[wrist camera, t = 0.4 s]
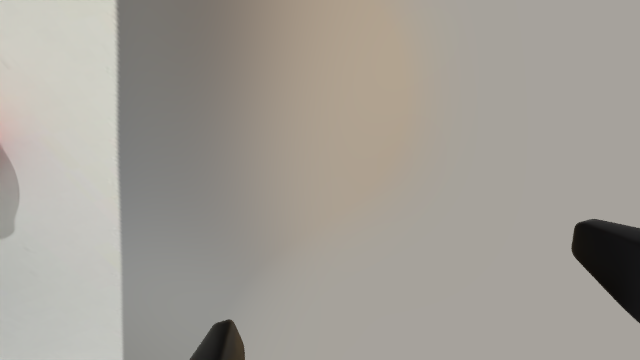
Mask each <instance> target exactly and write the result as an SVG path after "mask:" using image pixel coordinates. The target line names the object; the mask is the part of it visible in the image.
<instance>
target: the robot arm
mask: <svg viewBox="0 0 640 360" xmlns="http://www.w3.org/2000/svg"><path fill="white" fill-rule="evenodd" d="M572 253H573V255H574V257H575V258H576V259H577V260H578V261H579V262H580V263H581V264H582V265H583V267H584V268H585V269H586V270H587V271H588V272H589V273H590V274H591V275H592V276H593V277H594V278H595V279H596V280H597V281H598V282H599V283H600V284H601V285H602V286H603V288H604V289H605V290H606V291H607V292H608V293H609V294H610V295H611V296H612V297H613V298H614V299H615V300H616V301H617V302H618V303H619V304H620V305H621V306H622V307H623V308H624V309H625V310H626V311H627V312H628V313H629V314H630V315H631V316H632V317H633V318H635V319H636V320H637V321H638V322H639V323H640V228H636V227H631V226H626V225H622V224H617V223H612V222H607V221H603V220H597V219H591V220H587V221H583V222H579V223H577V224H576V226H575V228H574V234H573V242H572ZM190 360H245V352H244V345H243V342H242V339H241V337H240V335H239V333H238V330H237V328H236V326H235V324H234V322H233V321H232V320H226V321H222V322H218V323H216V324H214V325H213V326H212V328H211V329H210V331H209V332H208V334H207V335H206V337H205V338H204V340H203V341H202V342H201V344H200V345H199V347H198V348H197V350H196V351H195V353H194V354H193V356H192V357H191V358H190Z"/></svg>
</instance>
